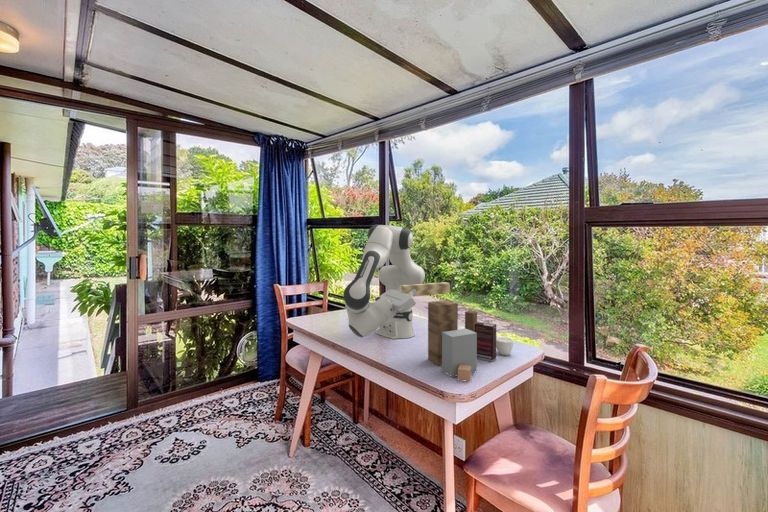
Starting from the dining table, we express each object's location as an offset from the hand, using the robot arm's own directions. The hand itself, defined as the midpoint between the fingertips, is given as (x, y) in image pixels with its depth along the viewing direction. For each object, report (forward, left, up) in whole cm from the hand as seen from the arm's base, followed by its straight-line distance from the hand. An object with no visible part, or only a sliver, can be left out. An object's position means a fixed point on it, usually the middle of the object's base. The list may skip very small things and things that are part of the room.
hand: (412, 289), depth 138 cm
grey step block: (+18, +7, -33) cm, 38 cm away
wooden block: (+11, +35, -33) cm, 50 cm away
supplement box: (+22, +27, -33) cm, 48 cm away
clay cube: (+23, +2, -33) cm, 40 cm away
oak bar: (+3, +6, -3) cm, 7 cm away
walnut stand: (+8, +13, -33) cm, 37 cm away
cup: (+27, +39, -33) cm, 58 cm away
